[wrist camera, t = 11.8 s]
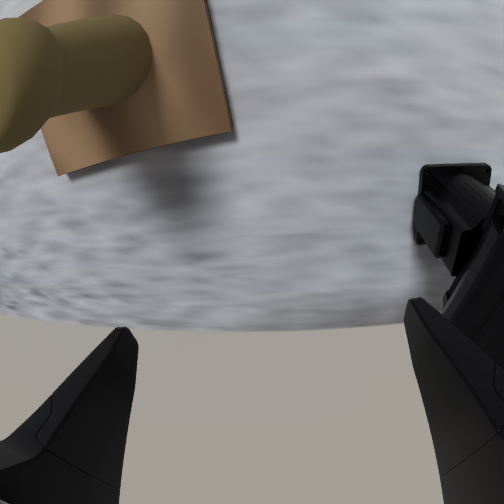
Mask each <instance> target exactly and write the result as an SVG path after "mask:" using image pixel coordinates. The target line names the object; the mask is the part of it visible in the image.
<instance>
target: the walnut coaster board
mask: <svg viewBox="0 0 504 504" xmlns="http://www.w3.org/2000/svg"><path fill="white" fill-rule="evenodd" d="M113 14H117V15H122V16H127V17H130V18H132V19H133V20H135V21H136V22H138V23H139V24H141V26H142V27H143V29H144V30H145V31H146V33H147V34H148V36H149V40H150V43H151V47H152V60H151V66H150V69H149V72H148V75H147V77H146V79H145V81H144V82H143V84H142V85H141V86H140V88H139V89H138V91H137V92H135V93H134V94H133V95H131V96H130V97H129V98H128V99H126V100H125V101H122V102H119V103H117V104H114V105H111V106H105V107H99V108H94V109H89V110H84V111H79V112H74V113H69V114H65V115H61V116H57V117H52V118H49V119H48V120H47V121H46V123H45V124H44V125H43V126H42V127H41V130H42V133H43V136H44V139H45V142H46V145H47V148H48V151H49V153H50V156H51V159H52V162H53V164H54V167H55V169H56V172H57V175H58V176H60V175H63V174H66V173H69V172H72V171H75V170H78V169H81V168H84V167H87V166H91V165H94V164H97V163H100V162H104V161H107V160H110V159H114V158H117V157H121V156H124V155H128V154H132V153H135V152H139V151H143V150H147V149H151V148H155V147H159V146H163V145H167V144H172V143H176V142H180V141H185V140H190V139H194V138H199V137H204V136H209V135H214V134H220V133H225V132H231V131H232V128H233V126H232V121H231V116H230V112H229V107H228V102H227V97H226V92H225V87H224V83H223V78H222V73H221V68H220V64H219V59H218V54H217V49H216V45H215V40H214V35H213V30H212V26H211V21H210V16H209V11H208V7H207V2H206V0H43V1H42V2H40V3H39V4H37V5H36V6H34V7H33V8H31V9H30V10H28V11H27V12H25V13H24V14H23V15H21V16H20V17H18V18H29V19H32V20H34V21H37V22H39V23H40V24H42V25H44V26H49V25H54V24H58V23H63V22H68V21H73V20H79V19H85V18H91V17H98V16H105V15H113Z"/></svg>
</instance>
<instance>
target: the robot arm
mask: <svg viewBox="0 0 504 504" xmlns="http://www.w3.org/2000/svg"><path fill="white" fill-rule="evenodd" d="M485 169H486V171H485ZM428 170H429V173H428V174H427V175H426V172H427V171H428ZM490 178H491V167H490V166H489V165H488V164H486V163H461V164H432V165H424V166H423V167H422V168H421V171H420V186H419V194H418V195H417V198H416V208H415V218H414V226H415V234H414V240H415V241H416V243H417V244H418V245H423V244H427V246H428V247H429V249H430V250H431V252H432V253H433V255H434V256H435V257H436V258H441V259H442V261H443V262H444V264H445V266H446V267H447V269H448V270H449V272H450V274H451V275H452V276H456V278H455V280H454V282H453V283H452V285H451V287H450V289H449V290H448V291H446V293H445V294H444V296H443V305H444V309H443V313H442V314H440V313H439V312H438V311H437V310H436V309H435V308H433V307H432V306H431V305H430V304H429V303H427V302H426V301H425V300H424V299H423V298H421V297H418V298H412V299H409V300H408V303H407V307H406V311H405V315H404V325H405V329H406V334H407V339H408V344H409V349H410V354H411V359H412V364H413V368H414V372H415V375H416V379H417V382H418V385H419V389H420V393H421V396H422V400H423V403H424V407H425V411H426V415H427V419H428V423H429V427H430V432H431V435H432V440H433V445H434V449H435V454H436V459H437V464H438V469H439V475H440V481H441V487H442V493H443V500H444V504H504V185H501V184H497V187H496V190H495V191H494V190H493V189H492V188H491V187H490V186H489V184H490ZM420 237H422V238H421V239H419V238H420ZM137 359H138V343H137V341H136V339H135V338H134V336H133V334H132V333H131V331H130V330H129V328H127V327H117V328H115V329H114V330H113V331H112V332H111V333H110V334H109V335H108V336H107V337H106V338H105V339H104V340H103V341H102V342H101V343H100V344H99V345H98V346H97V347H96V348H95V349H94V350H93V351H92V352H91V353H90V355H88V357H87V358H86V359H85V360H84V361H83V362H82V363H81V364H80V365H79V366H78V367H77V368H76V369H75V370H74V371H73V372H72V373H71V374H70V376H68V377H67V378H66V380H65V381H64V382H63V383H62V384H61V385H60V386H59V387H58V388H57V389H56V390H55V391H54V392H53V394H52V395H50V397H49V398H48V399H47V400H46V401H45V402H44V403H43V404H42V405H41V406H40V407H39V408H38V409H37V410H36V411H35V412H34V413H33V414H32V415H31V416H30V417H29V418H28V419H27V420H26V421H25V422H24V423H23V424H22V425H20V426H19V427H18V428H17V429H16V430H15V431H14V432H13V433H12V434H11V435H10V436H8V437H7V438H6V439H4V440H2V441H0V504H119V496H120V485H121V476H122V468H123V460H124V453H125V445H126V438H127V432H128V425H129V419H130V413H131V407H132V402H133V396H134V390H135V382H136V371H137Z"/></svg>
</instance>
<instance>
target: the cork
mask: <svg viewBox="0 0 504 504" xmlns="http://www.w3.org/2000/svg"><path fill="white" fill-rule="evenodd" d="M151 60H152V47H151V43H150V40H149V36H148V34H147V33H146V31H145V30H144V29H143V27H142V26H141V24H139V23H138V22H136V21H135V20H133V19H132V18H130V17H127V16H122V15H117V14H113V15H105V16H98V17H91V18H85V19H79V20H73V21H68V22H63V23H58V24H54V25H49V26H44V25H42V24H40V23H39V22H37V21H34V20H32V19H29V18H4V19H1V20H0V153H2V152H7V151H11V150H12V149H14V148H16V147H17V146H19V145H21V144H22V143H24V142H26V141H27V140H29V139H31V138H32V137H33V136H34V135H35V134H36V133H37V132H38V131H39V130H40V128H41V127H42V126H43V125H44V124H45V123H46V121H47V120H48V119H49V118H52V117H57V116H61V115H65V114H69V113H74V112H79V111H84V110H89V109H94V108H99V107H105V106H111V105H114V104H117V103H119V102H122V101H125V100H126V99H128V98H129V97H130V96H131V95H133V94H134V93H135V92H137V91H138V89H139V88H140V86H141V85H142V84H143V82H144V81H145V79H146V77H147V75H148V72H149V69H150V66H151Z"/></svg>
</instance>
